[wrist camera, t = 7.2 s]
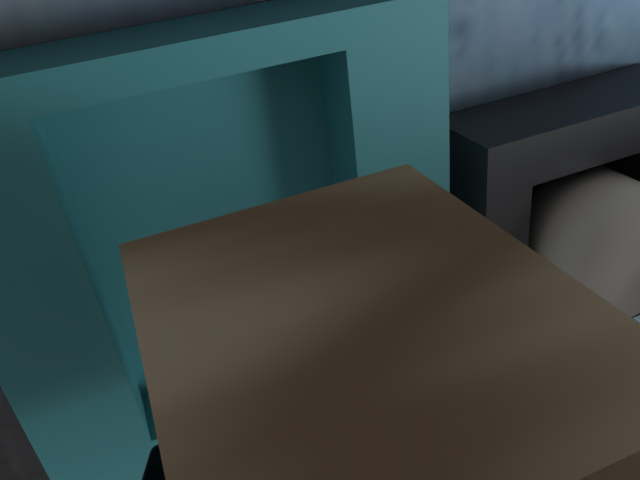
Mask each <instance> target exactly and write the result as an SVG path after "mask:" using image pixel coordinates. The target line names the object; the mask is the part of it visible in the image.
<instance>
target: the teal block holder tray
mask: <svg viewBox="0 0 640 480" xmlns="http://www.w3.org/2000/svg"><path fill="white" fill-rule="evenodd" d="M405 164H409V165H410V166H412V167H413V168H414V169H416V170H417V171H419V172H420V173H422V174H423V175H425V176H426V177H428V178H429V179H430V180H432V181H433V182H435V183H436V184H438V185H439V186H441V187H442V188H444V189H445V190H446V191H448V192H449V193H450V148H449V0H271V1H266V2H260V3H255V4H250V5H244V6H239V7H234V8H228V9H223V10H218V11H212V12H207V13H202V14H196V15H191V16H185V17H180V18H175V19H169V20H164V21H159V22H153V23H148V24H143V25H137V26H132V27H127V28H121V29H116V30H111V31H105V32H100V33H94V34H89V35H84V36H78V37H73V38H68V39H62V40H57V41H52V42H46V43H41V44H36V45H30V46H25V47H19V48H14V49H9V50H3V51H0V387H1V389H2V391H3V393H4V395H5V396H6V398H7V400H8V402H9V404H10V406H11V408H12V409H13V411H14V413H15V415H16V417H17V419H18V421H19V423H20V424H21V426H22V428H23V430H24V432H25V434H26V436H27V438H28V439H29V441H30V443H31V445H32V447H33V449H34V451H35V452H36V454H37V456H38V458H39V460H40V462H41V464H42V466H43V467H44V469H45V471H46V473H47V475H48V477H49V479H50V480H142V477H143V474H144V470H145V467H146V464H147V460H148V457H149V454H150V451H151V449H152V448H153V447H154V446H155V445H157V444H158V439H157V434H156V429H155V424H154V419H153V414H152V409H151V404H150V399H149V394H148V389H147V384H146V379H145V374H144V369H143V364H142V359H141V354H140V349H139V344H138V339H137V334H136V329H135V324H134V319H133V314H132V309H131V304H130V299H129V294H128V289H127V284H126V279H125V274H124V269H123V263H122V258H121V253H120V248H119V244H122V243H126V242H129V241H133V240H136V239H140V238H144V237H147V236H151V235H154V234H158V233H161V232H165V231H169V230H172V229H176V228H179V227H183V226H186V225H190V224H194V223H197V222H201V221H204V220H208V219H212V218H215V217H219V216H222V215H226V214H229V213H233V212H237V211H240V210H244V209H247V208H251V207H254V206H258V205H262V204H265V203H269V202H272V201H276V200H279V199H283V198H287V197H290V196H294V195H297V194H301V193H304V192H308V191H312V190H315V189H319V188H322V187H326V186H329V185H333V184H337V183H340V182H344V181H347V180H351V179H355V178H358V177H362V176H365V175H369V174H372V173H376V172H380V171H383V170H387V169H390V168H394V167H397V166H401V165H405Z"/></svg>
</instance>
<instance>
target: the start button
mask: <svg viewBox="0 0 640 480" xmlns="http://www.w3.org/2000/svg"><path fill="white" fill-rule="evenodd" d="M528 247H529V248H531V249H532V250H534V251H535V252H536V253H538V254H539V255H541V256H542V257H544V258H545V259H547V260H548V261H550V262H551V263H552V264H554V265H555V266H557V267H558V268H560V269H561V270H563V271H564V272H566V273H567V274H568V275H570V276H571V277H573V278H574V279H576V280H577V281H579V282H580V283H581V284H583V285H584V286H586V287H587V288H589V289H590V290H592V291H593V292H595V293H596V294H597V295H599V296H600V297H602V298H603V299H605V300H606V301H608V302H609V303H611V304H612V305H613V306H615V307H616V308H618V309H619V310H621V311H622V312H624V313H625V314H627V315H628V316H629V317H633V316H635V315H637V314H638V313H640V182H639V181H637V180H635V179H632V178H630V177H628V176H626V175H623V174H621V173H619V172H617V171H614V170H612V169H610V168H608V167H605V166H603V165H599V166H596V167H592V168H589V169H586V170H583V171H580V172H576V173H573V174H570V175H567V176H564V177H560V178H557V179H554V180H551V181H548V182H546V183H545V184H544V185H543V186H542V187H541V188H540V189H539V190H538V191H537V192H536V193H535V195H534V196H533V197H532V202H531V215H530V229H529V242H528Z"/></svg>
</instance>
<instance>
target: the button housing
mask: <svg viewBox="0 0 640 480" xmlns="http://www.w3.org/2000/svg"><path fill="white" fill-rule="evenodd" d="M449 148H450V193H451V194H452V195H454V196H455V197H457V198H458V199H460V200H461V201H462V202H464V203H465V204H467V205H468V206H470V207H471V208H473V209H474V210H475V211H477V212H478V213H480V214H481V215H483V216H484V217H486V218H487V219H489V220H490V221H491V222H493V223H494V224H496V225H497V226H499V227H500V228H502V229H503V230H505V231H506V232H507V233H509V234H510V235H512V236H513V237H515V238H516V239H518V240H519V241H520V242H522V243H523V244H525V245H526V246H528V242H529V229H530V215H531V202H532V188H533V186H535V185H538V184H541V183H544V182H548V181H551V180H554V179H557V178H560V177H564V176H567V175H570V174H573V173H576V172H580V171H583V170H586V169H589V168H592V167H596V166H599V165H603V166H605V167H608V168H610V169H612V170H614V171H617V172H619V173H621V174H623V175H626V176H628V177H630V178H632V179H635V180H637V181H639V182H640V64H636V65H632V66H629V67H625V68H621V69H617V70H613V71H610V72H606V73H602V74H598V75H594V76H590V77H587V78H583V79H579V80H575V81H571V82H567V83H564V84H560V85H556V86H552V87H548V88H544V89H541V90H537V91H533V92H529V93H525V94H522V95H518V96H514V97H510V98H506V99H502V100H499V101H495V102H491V103H487V104H483V105H479V106H476V107H472V108H468V109H464V110H460V111H456V112H453V113H449ZM638 315H640V313H638V314H637V315H635V316H633V317H636V316H638ZM633 317H631V318H633Z"/></svg>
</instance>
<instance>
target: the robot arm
mask: <svg viewBox="0 0 640 480" xmlns="http://www.w3.org/2000/svg"><path fill="white" fill-rule="evenodd" d="M142 480H165V475H164V470H163V465H162V460H161V455H160V449H159V444H157V445H155V446H154V447H153V448H152V449H151V451H150V454H149V457H148V460H147V464H146V467H145V470H144V474H143V477H142Z"/></svg>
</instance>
